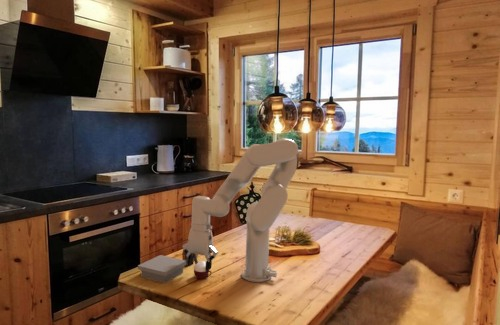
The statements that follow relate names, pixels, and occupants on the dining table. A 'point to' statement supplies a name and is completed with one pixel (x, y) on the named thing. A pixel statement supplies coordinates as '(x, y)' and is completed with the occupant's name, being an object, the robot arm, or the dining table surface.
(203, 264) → the cocoa
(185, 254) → the tin
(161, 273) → the stand
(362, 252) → the dining table surface
